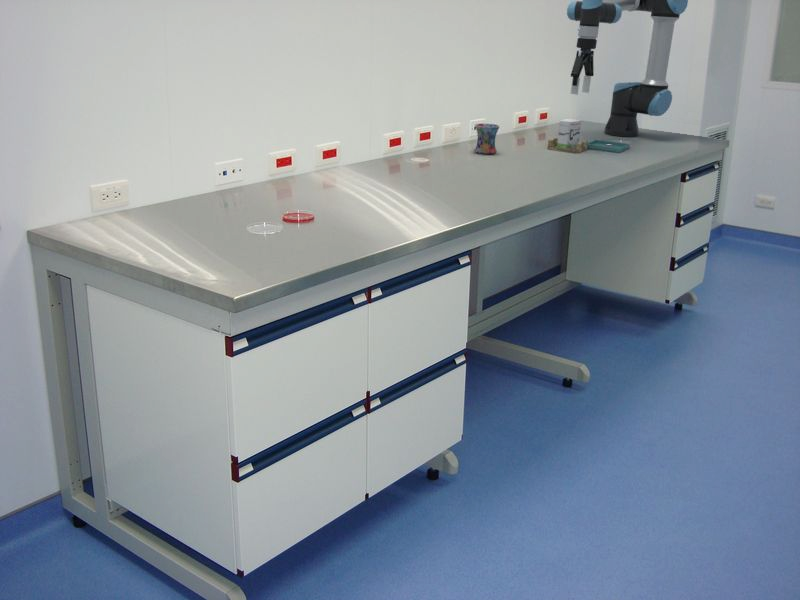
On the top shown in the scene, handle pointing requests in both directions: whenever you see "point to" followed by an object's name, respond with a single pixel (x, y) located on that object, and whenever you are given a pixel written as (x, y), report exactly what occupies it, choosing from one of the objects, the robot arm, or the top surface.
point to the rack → (579, 148)
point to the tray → (607, 146)
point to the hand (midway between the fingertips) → (579, 93)
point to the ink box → (568, 134)
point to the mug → (486, 138)
